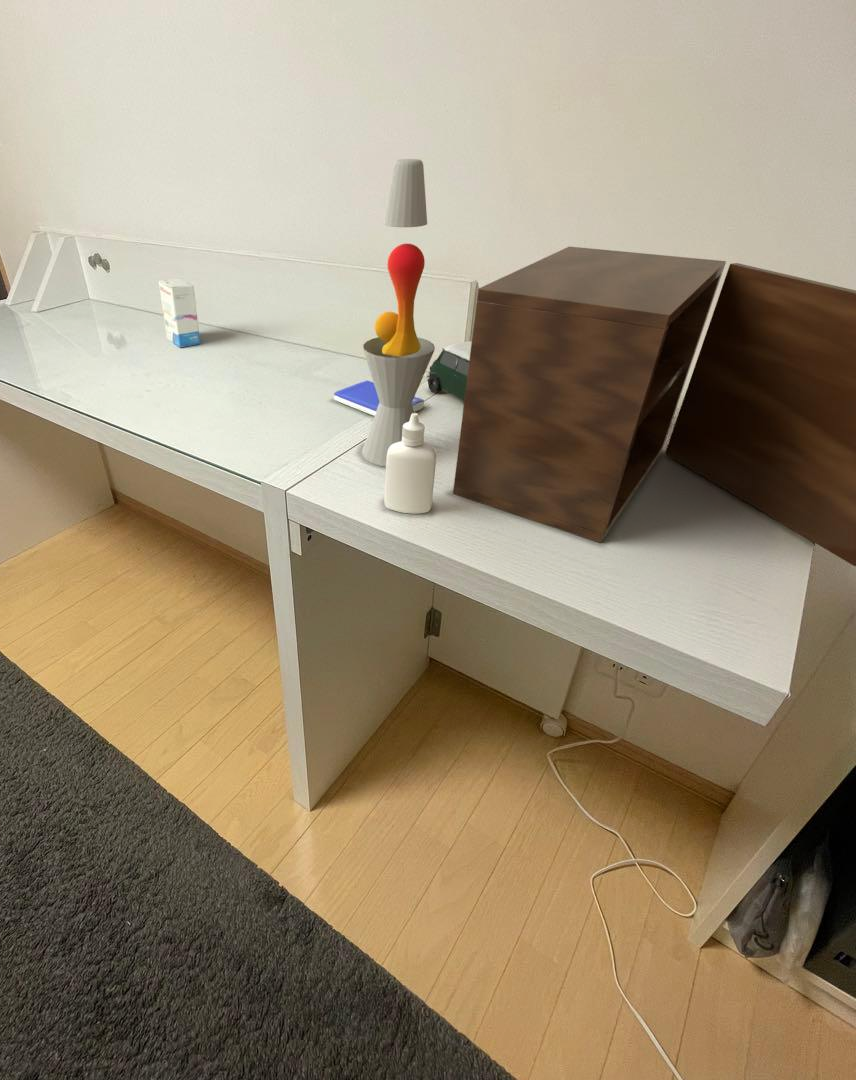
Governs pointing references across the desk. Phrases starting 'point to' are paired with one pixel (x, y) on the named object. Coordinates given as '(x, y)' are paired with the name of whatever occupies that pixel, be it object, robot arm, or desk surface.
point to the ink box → (179, 312)
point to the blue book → (366, 398)
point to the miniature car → (451, 370)
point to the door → (778, 403)
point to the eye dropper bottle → (410, 471)
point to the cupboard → (578, 381)
